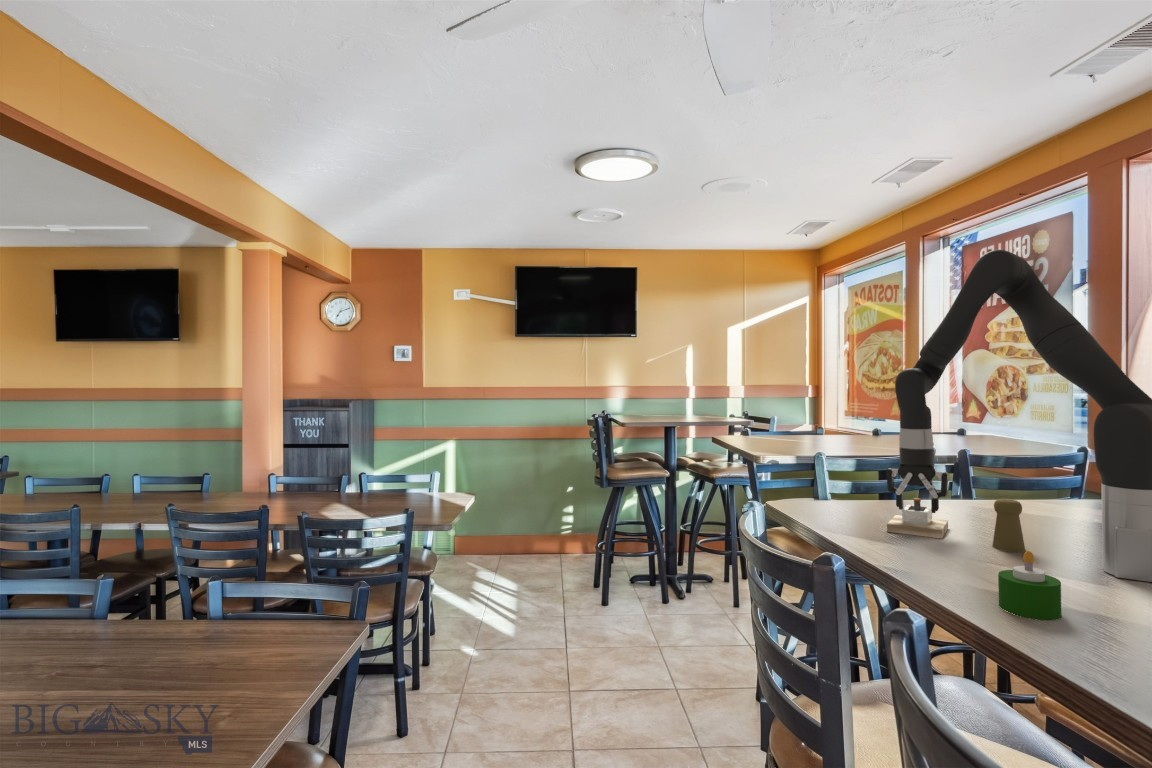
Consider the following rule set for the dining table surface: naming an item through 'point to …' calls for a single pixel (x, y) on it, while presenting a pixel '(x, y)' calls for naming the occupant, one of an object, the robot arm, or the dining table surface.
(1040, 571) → the candle
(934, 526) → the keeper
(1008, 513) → the cork
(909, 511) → the white hollow block
